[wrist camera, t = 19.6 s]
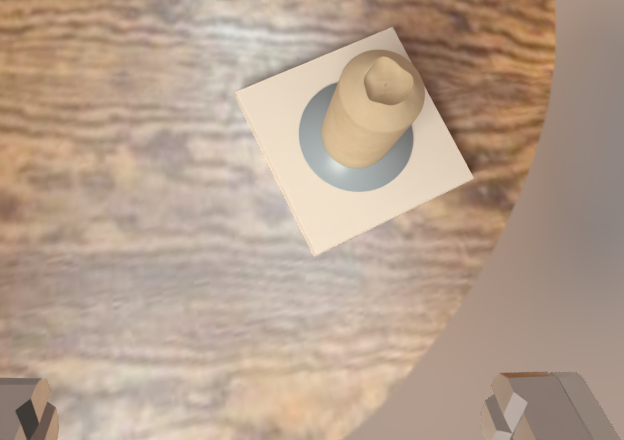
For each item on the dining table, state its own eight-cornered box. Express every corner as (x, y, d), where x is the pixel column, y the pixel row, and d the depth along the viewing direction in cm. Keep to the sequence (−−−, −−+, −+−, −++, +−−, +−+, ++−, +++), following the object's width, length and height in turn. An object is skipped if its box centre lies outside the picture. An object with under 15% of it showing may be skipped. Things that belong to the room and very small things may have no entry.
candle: (317, 103, 43) (338, 39, 33) (385, 99, 44) (426, 36, 34) (324, 171, 42) (348, 126, 32) (394, 167, 43) (438, 121, 33)
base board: (313, 257, 42) (316, 254, 41) (235, 99, 44) (235, 90, 42) (466, 182, 45) (475, 177, 43) (387, 36, 46) (393, 25, 45)
